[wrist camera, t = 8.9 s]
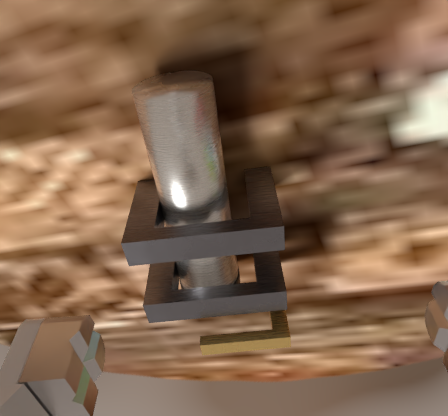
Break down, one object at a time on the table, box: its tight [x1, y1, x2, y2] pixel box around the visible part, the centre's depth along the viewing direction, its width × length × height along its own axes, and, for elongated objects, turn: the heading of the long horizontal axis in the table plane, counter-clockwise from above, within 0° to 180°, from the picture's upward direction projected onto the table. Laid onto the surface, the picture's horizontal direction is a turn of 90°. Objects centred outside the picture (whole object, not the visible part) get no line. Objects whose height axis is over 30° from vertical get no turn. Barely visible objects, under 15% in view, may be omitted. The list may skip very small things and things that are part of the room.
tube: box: [132, 71, 240, 289], centre depth 30 cm, size 18×5×5 cm, turn 7°
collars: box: [121, 167, 291, 355], centre depth 31 cm, size 11×10×9 cm
